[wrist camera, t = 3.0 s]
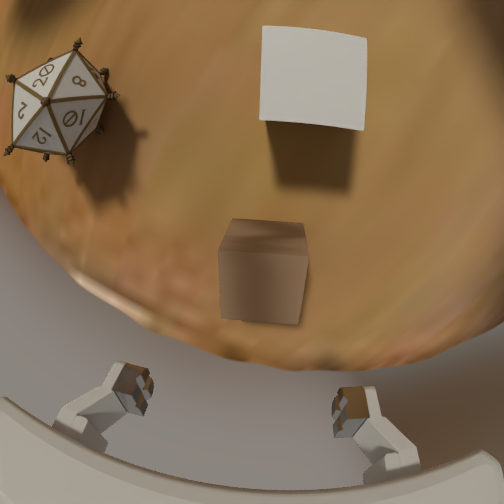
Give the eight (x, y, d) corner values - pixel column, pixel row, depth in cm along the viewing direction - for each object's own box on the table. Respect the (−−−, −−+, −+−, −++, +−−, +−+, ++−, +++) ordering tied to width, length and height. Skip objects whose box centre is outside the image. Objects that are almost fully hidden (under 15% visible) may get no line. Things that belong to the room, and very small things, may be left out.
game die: (102, 91, 18) (27, 40, 9) (165, 80, 16) (74, -5, 6) (59, 180, 18) (-32, 145, 9) (110, 195, 15) (-24, 141, 6)
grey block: (344, 57, 13) (366, 38, 9) (341, 127, 16) (363, 131, 11) (267, 49, 14) (262, 25, 9) (265, 119, 16) (259, 120, 12)
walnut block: (302, 222, 19) (309, 256, 15) (295, 281, 21) (298, 324, 17) (232, 218, 19) (218, 250, 15) (233, 277, 22) (221, 318, 17)
